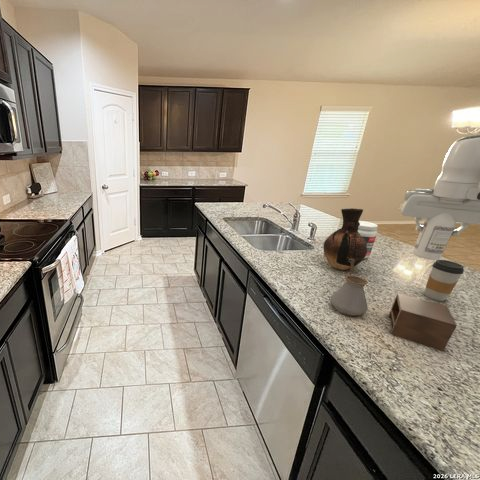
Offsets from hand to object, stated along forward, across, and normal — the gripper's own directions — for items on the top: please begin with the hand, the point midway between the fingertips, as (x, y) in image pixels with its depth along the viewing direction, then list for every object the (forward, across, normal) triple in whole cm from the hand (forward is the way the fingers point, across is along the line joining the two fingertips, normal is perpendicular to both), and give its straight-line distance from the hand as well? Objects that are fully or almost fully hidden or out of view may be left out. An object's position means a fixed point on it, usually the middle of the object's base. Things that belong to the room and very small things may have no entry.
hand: (435, 232), depth 83 cm
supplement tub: (+31, -16, +51) cm, 62 cm away
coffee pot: (+31, -18, -7) cm, 36 cm away
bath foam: (+9, 0, 0) cm, 9 cm away
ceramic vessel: (+31, -22, +29) cm, 48 cm away
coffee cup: (+31, +11, +20) cm, 39 cm away
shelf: (+31, +1, -13) cm, 34 cm away
